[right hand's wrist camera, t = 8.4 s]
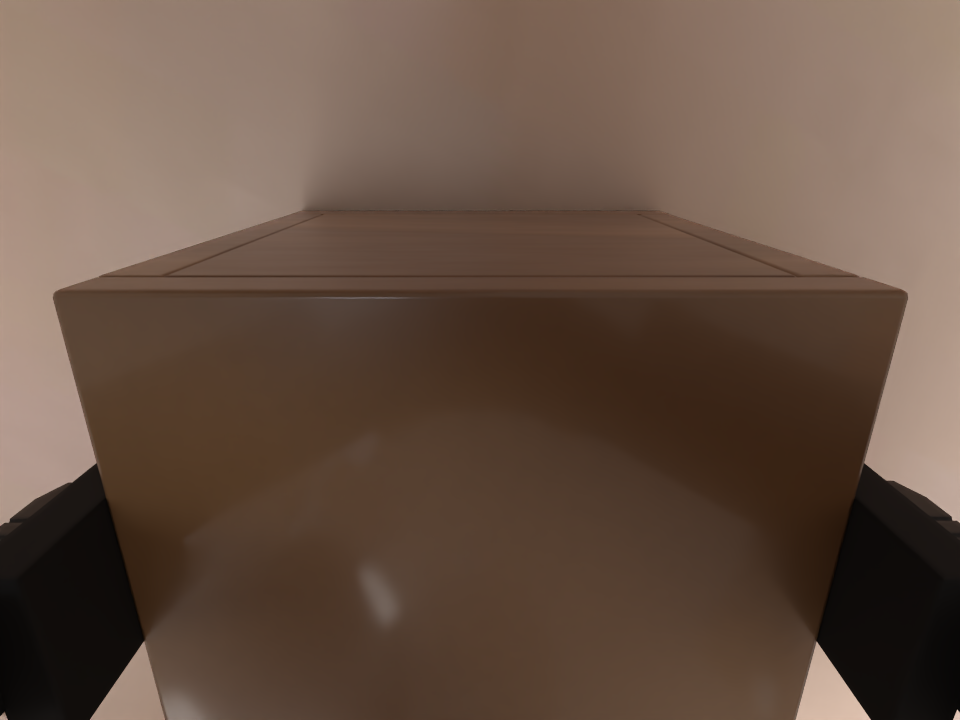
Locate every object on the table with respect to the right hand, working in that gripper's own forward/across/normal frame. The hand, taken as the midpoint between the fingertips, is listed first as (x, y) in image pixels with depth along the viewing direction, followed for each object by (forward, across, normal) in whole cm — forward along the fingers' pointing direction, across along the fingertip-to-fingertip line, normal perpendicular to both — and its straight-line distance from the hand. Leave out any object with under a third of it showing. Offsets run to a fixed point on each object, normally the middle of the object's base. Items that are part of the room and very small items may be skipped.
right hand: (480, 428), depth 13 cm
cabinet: (+6, 0, -6) cm, 8 cm away
